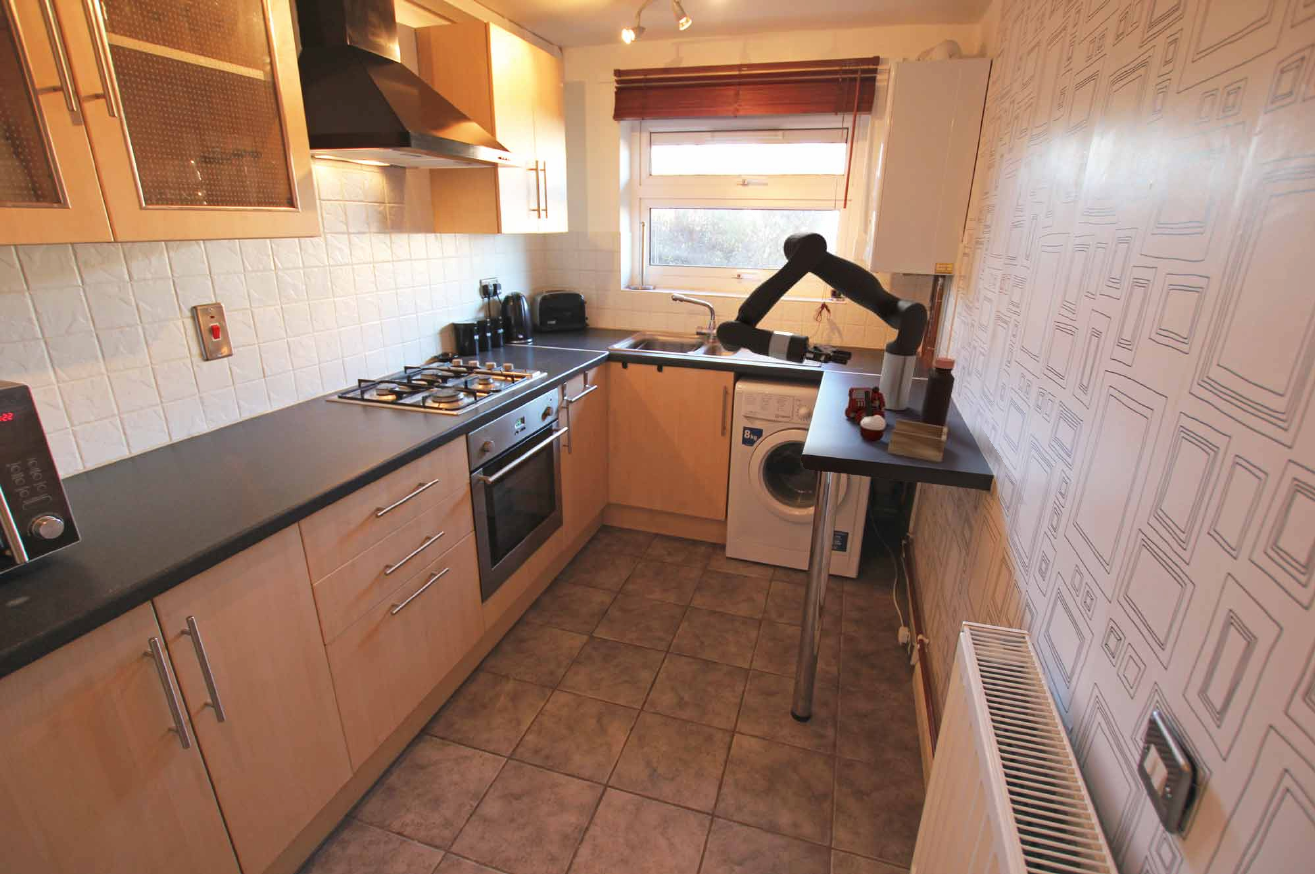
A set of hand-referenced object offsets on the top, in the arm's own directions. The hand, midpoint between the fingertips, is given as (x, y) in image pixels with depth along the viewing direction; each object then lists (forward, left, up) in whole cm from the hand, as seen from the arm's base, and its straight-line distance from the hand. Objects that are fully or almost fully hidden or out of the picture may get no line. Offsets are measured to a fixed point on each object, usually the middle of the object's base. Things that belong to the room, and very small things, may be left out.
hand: (849, 358), depth 160 cm
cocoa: (0, +8, -21) cm, 23 cm away
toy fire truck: (-16, +4, -21) cm, 27 cm away
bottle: (-21, +22, -21) cm, 37 cm away
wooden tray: (+2, +20, -21) cm, 29 cm away
